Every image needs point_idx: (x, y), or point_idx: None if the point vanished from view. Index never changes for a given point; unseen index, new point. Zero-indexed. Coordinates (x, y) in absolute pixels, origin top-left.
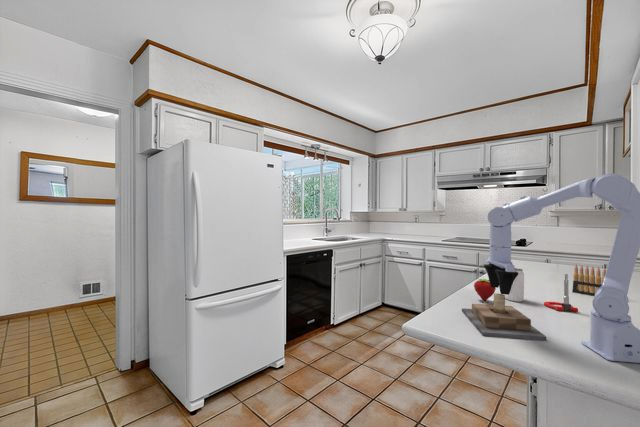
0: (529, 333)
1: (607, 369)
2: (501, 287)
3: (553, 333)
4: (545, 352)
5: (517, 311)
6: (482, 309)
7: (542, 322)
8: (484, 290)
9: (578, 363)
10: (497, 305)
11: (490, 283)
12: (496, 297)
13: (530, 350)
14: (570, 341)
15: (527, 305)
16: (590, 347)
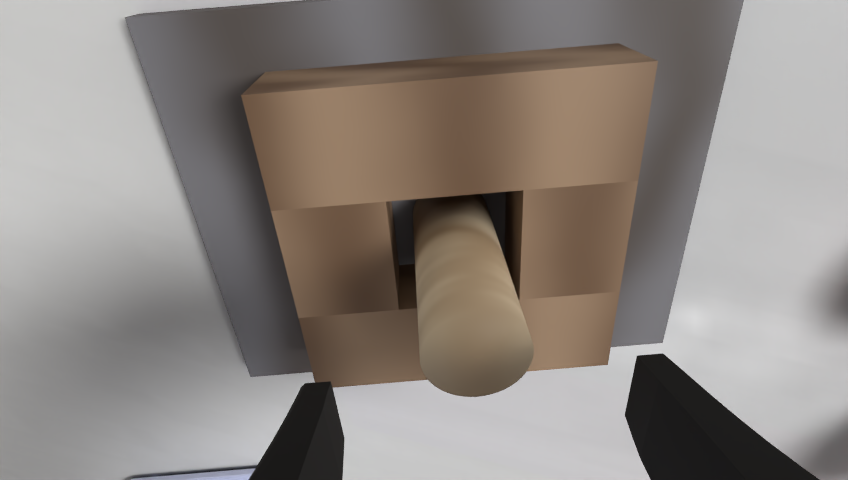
0: (262, 318)
1: (35, 449)
2: (262, 459)
3: (376, 414)
4: (73, 310)
5: None
6: (471, 125)
7: (530, 419)
8: None
9: (25, 388)
10: (425, 268)
11: (667, 386)
12: (437, 311)
13: (51, 251)
14: None
15: (810, 436)
16: (223, 475)
